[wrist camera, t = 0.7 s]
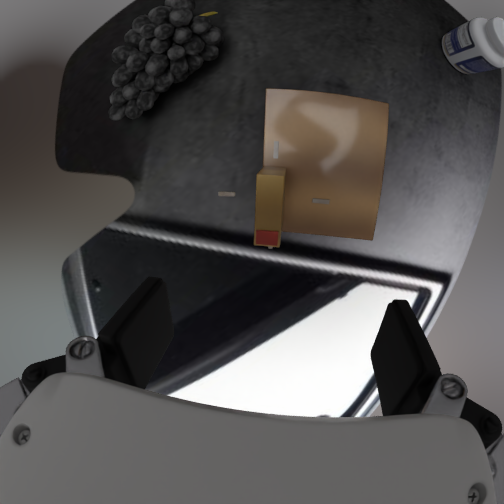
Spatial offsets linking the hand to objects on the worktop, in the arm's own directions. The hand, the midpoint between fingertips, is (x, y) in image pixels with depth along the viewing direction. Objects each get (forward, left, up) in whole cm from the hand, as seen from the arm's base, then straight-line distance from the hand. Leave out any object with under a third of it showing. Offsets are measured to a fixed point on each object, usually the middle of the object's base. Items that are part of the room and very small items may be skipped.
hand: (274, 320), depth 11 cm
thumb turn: (-2, -1, -13) cm, 13 cm away
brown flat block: (-4, +1, -18) cm, 19 cm away
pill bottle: (-21, +19, -18) cm, 34 cm away
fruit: (-15, -13, -18) cm, 27 cm away
